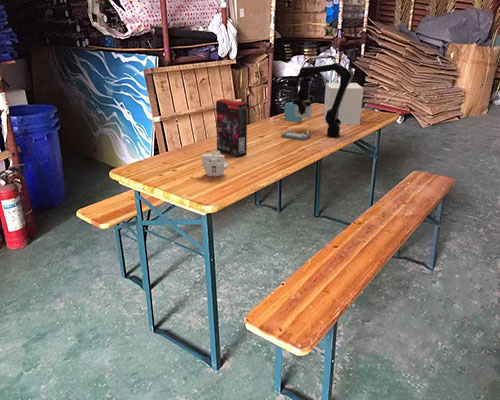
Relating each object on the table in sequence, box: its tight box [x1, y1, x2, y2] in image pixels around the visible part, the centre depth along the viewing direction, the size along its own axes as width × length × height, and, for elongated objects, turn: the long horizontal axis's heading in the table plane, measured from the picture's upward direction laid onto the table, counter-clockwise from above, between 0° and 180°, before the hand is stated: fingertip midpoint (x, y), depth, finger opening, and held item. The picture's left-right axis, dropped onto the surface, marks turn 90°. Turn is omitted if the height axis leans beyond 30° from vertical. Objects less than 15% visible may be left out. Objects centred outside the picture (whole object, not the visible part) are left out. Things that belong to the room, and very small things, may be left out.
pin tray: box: [280, 127, 312, 142], centre depth 263 cm, size 15×9×4 cm, turn 58°
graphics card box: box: [215, 98, 248, 158], centre depth 227 cm, size 17×7×27 cm, turn 46°
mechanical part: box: [201, 150, 229, 179], centre depth 197 cm, size 11×12×12 cm
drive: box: [295, 104, 313, 119], centre depth 269 cm, size 9×5×7 cm, turn 58°
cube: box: [323, 82, 364, 126], centre depth 302 cm, size 25×21×24 cm
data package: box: [283, 102, 303, 123], centre depth 303 cm, size 12×4×12 cm, turn 51°
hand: (303, 114), depth 270 cm, fingers closed on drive, 5 cm apart
